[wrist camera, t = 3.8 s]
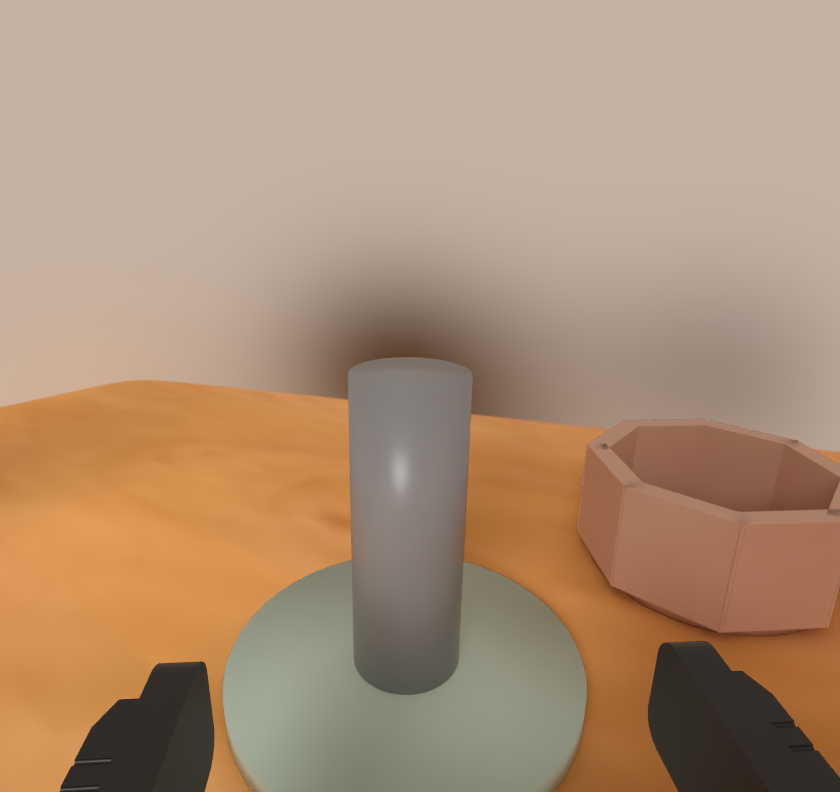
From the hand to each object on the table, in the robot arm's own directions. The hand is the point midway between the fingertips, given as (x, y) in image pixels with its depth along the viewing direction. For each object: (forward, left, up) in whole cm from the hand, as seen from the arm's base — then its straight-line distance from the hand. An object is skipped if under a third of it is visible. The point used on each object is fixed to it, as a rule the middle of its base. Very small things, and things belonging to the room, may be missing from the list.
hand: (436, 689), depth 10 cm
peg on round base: (0, +8, -8) cm, 11 cm away
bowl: (+14, +14, -8) cm, 21 cm away
